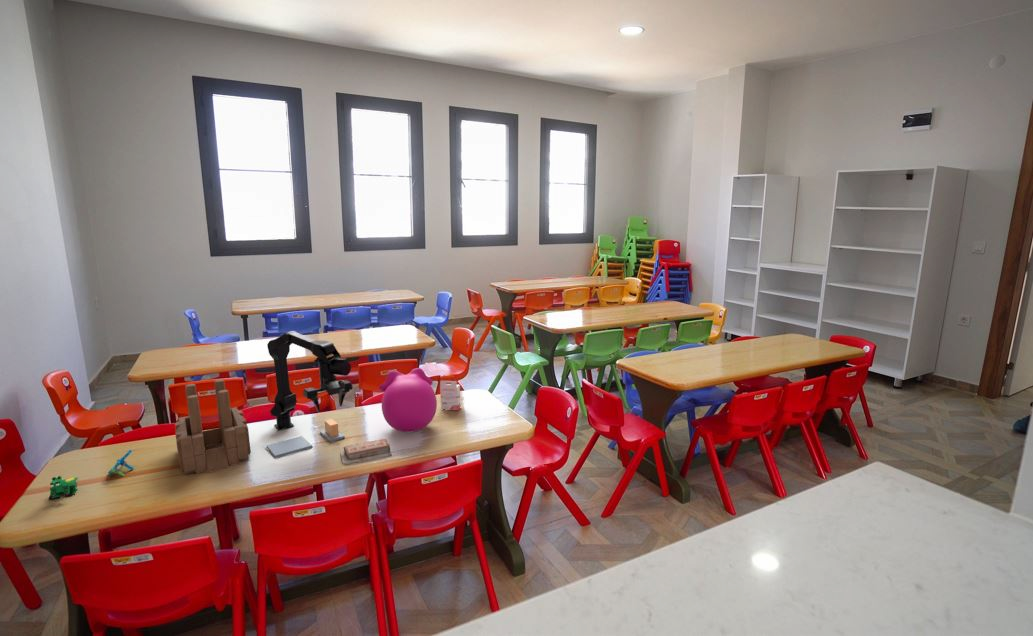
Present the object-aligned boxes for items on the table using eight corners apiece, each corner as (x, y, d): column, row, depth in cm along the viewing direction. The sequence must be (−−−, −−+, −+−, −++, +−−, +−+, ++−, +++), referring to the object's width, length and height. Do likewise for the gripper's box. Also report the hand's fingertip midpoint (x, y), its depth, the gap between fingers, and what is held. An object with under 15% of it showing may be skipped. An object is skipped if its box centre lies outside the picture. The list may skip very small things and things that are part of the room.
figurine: (431, 415, 239) (429, 363, 234) (443, 435, 217) (441, 378, 212) (379, 422, 231) (376, 368, 226) (386, 444, 209) (382, 385, 204)
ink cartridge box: (461, 407, 249) (460, 378, 246) (458, 411, 244) (457, 381, 241) (443, 406, 250) (442, 377, 247) (440, 410, 245) (439, 380, 242)
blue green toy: (117, 460, 193) (133, 443, 191) (132, 469, 195) (148, 452, 193) (99, 479, 182) (116, 460, 181) (114, 488, 184) (131, 470, 183)
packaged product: (386, 435, 207) (391, 445, 198) (387, 446, 208) (392, 456, 199) (339, 443, 200) (342, 454, 191) (340, 455, 201) (343, 466, 192)
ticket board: (266, 447, 207) (266, 445, 206) (302, 438, 215) (302, 435, 215) (275, 458, 198) (275, 455, 197) (312, 447, 206) (312, 444, 206)
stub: (319, 433, 220) (318, 419, 219) (333, 429, 224) (332, 416, 223) (330, 442, 211) (329, 428, 210) (344, 438, 215) (343, 424, 214)
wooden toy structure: (181, 479, 182) (170, 405, 177) (178, 448, 207) (169, 383, 201) (253, 461, 195) (245, 392, 190) (242, 434, 219) (235, 373, 214)
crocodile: (63, 481, 182) (59, 457, 180) (84, 477, 184) (80, 454, 183) (46, 508, 164) (41, 483, 163) (70, 503, 167) (65, 478, 165)
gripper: (310, 382, 200) (313, 420, 203) (356, 372, 212) (359, 408, 215) (301, 375, 209) (304, 412, 212) (346, 367, 221) (348, 401, 224)
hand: (329, 408), depth 215 cm, fingers open, 9 cm apart
